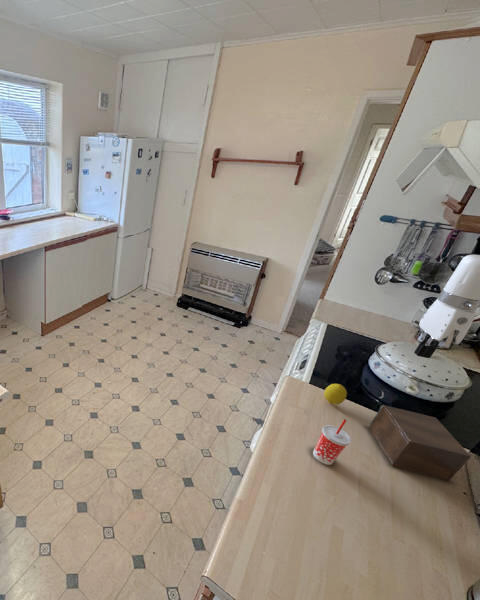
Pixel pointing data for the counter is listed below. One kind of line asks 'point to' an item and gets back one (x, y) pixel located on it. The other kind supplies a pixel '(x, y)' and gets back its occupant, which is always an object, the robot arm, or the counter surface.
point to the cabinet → (418, 443)
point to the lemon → (335, 394)
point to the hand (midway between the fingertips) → (421, 355)
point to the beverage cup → (331, 443)
